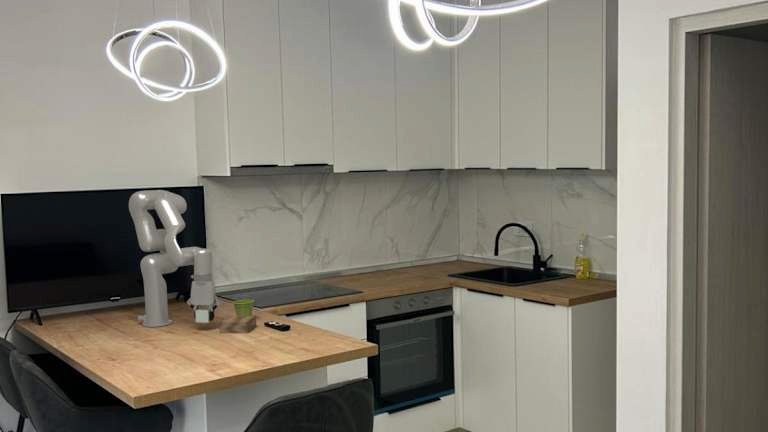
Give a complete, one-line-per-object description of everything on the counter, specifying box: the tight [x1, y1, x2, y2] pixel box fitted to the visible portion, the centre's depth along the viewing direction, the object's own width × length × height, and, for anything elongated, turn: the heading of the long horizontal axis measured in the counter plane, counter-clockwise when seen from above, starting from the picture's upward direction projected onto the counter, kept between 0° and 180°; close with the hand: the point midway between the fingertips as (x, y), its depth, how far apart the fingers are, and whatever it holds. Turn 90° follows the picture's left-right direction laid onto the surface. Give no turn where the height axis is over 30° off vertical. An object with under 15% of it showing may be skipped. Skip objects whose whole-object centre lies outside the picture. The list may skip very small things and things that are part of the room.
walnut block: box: [218, 315, 257, 334], centre depth 309 cm, size 12×12×5 cm
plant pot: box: [232, 299, 255, 316], centre depth 330 cm, size 9×9×9 cm
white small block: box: [195, 307, 211, 324], centre depth 312 cm, size 6×6×5 cm
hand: (204, 319), depth 312 cm, fingers closed on white small block, 5 cm apart
